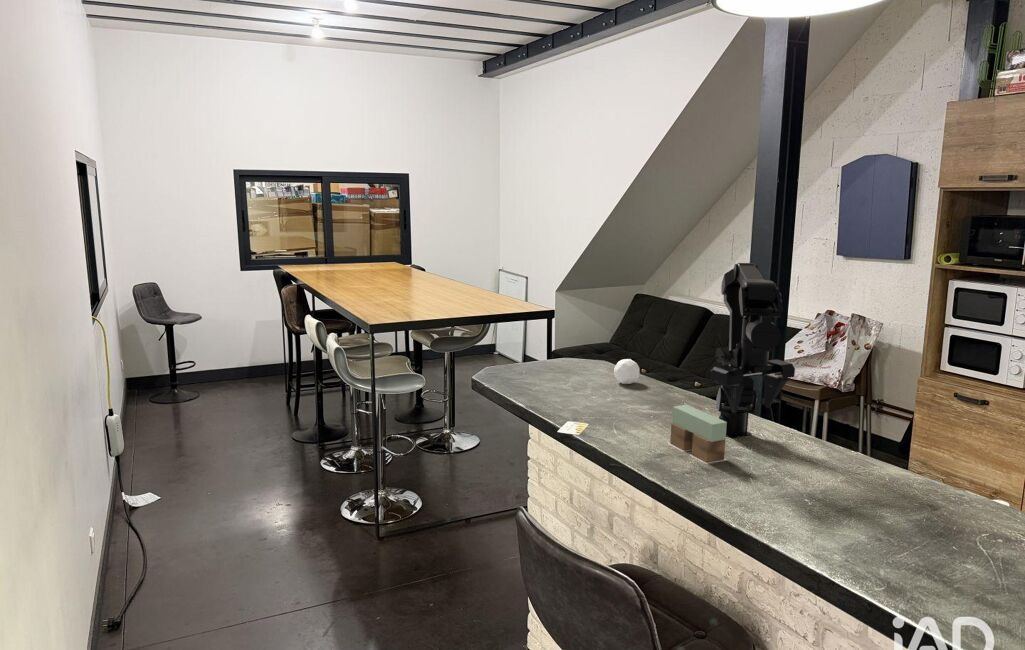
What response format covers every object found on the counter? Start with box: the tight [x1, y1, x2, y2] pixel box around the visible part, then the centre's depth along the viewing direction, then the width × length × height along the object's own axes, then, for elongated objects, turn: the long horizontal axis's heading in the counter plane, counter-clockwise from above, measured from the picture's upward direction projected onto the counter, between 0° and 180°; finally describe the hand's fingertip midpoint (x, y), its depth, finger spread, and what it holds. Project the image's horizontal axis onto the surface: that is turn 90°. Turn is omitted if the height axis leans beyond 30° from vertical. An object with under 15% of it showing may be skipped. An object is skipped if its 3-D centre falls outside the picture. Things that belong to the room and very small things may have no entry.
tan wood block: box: [691, 434, 726, 463], centre depth 156 cm, size 5×5×5 cm
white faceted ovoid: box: [613, 358, 640, 385], centre depth 220 cm, size 8×8×12 cm
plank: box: [671, 404, 727, 442], centre depth 159 cm, size 4×14×4 cm, turn 24°
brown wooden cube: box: [669, 423, 694, 451], centre depth 163 cm, size 5×5×5 cm
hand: (750, 410), depth 151 cm, fingers open, 9 cm apart
